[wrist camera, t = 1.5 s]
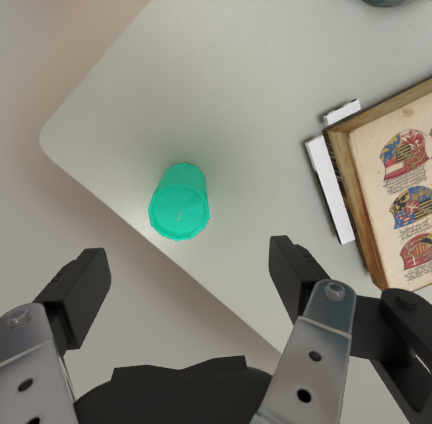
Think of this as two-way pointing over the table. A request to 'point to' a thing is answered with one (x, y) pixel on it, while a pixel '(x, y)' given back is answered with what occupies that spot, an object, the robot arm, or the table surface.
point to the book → (382, 184)
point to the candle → (180, 203)
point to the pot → (385, 2)
